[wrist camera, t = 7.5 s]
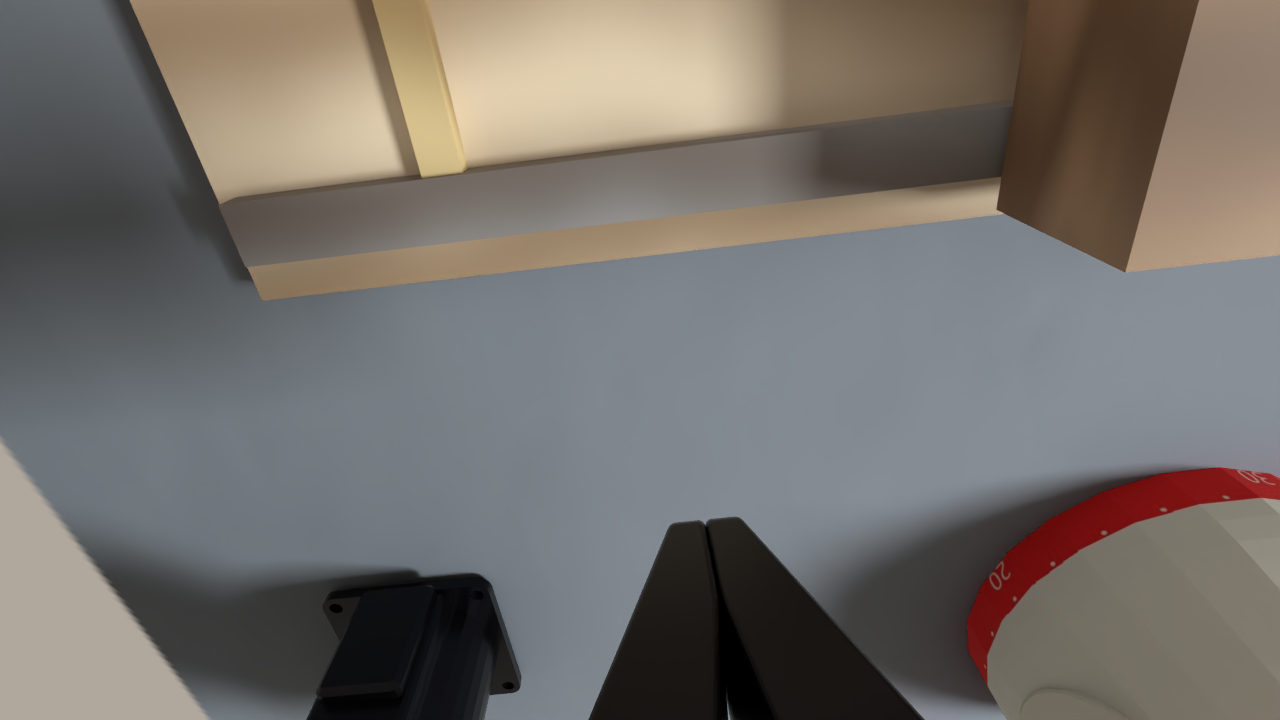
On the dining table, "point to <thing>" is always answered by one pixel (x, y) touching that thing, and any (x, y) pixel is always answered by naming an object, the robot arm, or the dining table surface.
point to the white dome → (1141, 605)
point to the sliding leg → (1148, 130)
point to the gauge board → (578, 126)
